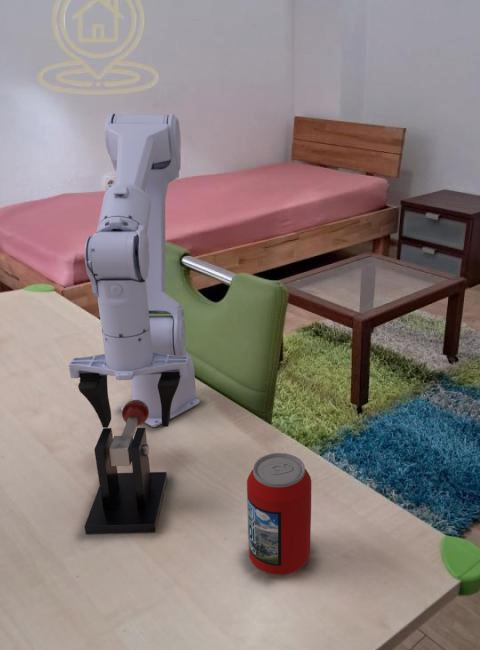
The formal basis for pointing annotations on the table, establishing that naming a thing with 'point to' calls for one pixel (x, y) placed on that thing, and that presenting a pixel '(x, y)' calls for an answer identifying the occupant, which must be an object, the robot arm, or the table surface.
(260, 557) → the beverage can
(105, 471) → the bracket
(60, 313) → the table surface
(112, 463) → the lever
